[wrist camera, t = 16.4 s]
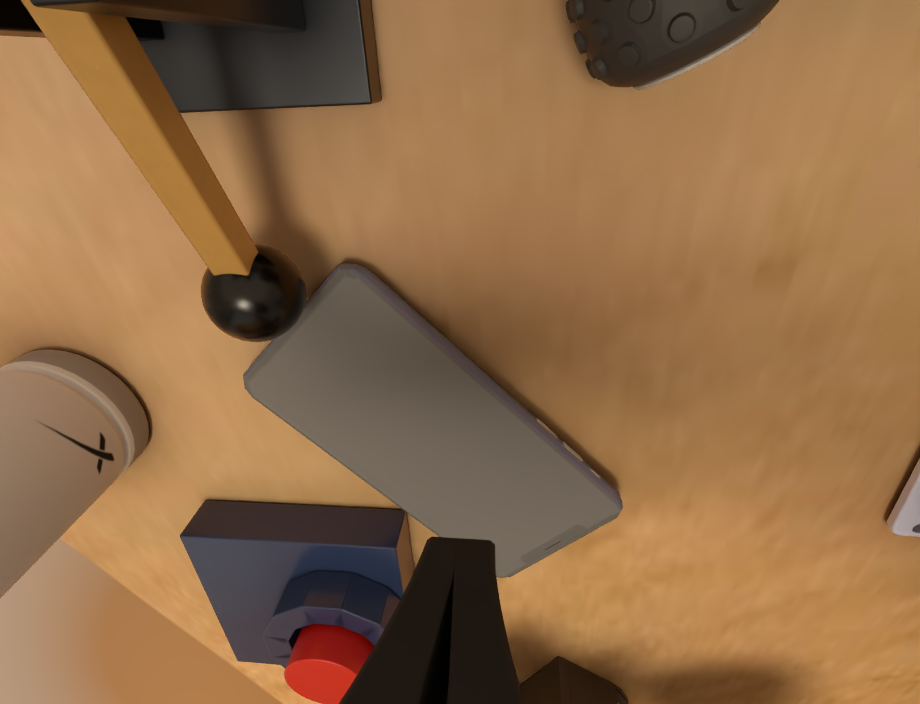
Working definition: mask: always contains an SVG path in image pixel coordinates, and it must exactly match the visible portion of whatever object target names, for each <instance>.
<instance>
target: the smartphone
mask: <svg viewBox="0 0 920 704" xmlns="http://www.w3.org/2000/svg"><path fill="white" fill-rule="evenodd" d="M243 378H244V385H245V389H246V390H247V391H248V392H249V394H250V395H251V396H252V397H253V398H254V399H255V400H257V401H258V402H259V403H261V404H262V405H263V406H265V407H266V408H268V409H269V410H270V411H272V412H273V413H274V414H276V415H277V416H278V417H280V418H281V419H282V420H284V421H285V422H286V423H288V424H289V425H290V426H292V427H293V428H294V429H296V430H297V431H298V432H300V433H301V434H302V435H304V436H305V437H306V438H308V439H309V440H310V441H312V442H313V443H314V444H316V445H317V446H318V447H320V448H321V449H323V450H324V451H325V452H327V453H328V454H329V455H331V456H332V457H333V458H335V459H336V460H337V461H339V462H340V463H341V464H343V465H344V466H345V467H347V468H348V469H349V470H351V471H352V472H353V473H355V474H356V475H357V476H359V477H360V478H361V479H363V480H364V481H365V482H367V483H368V484H369V485H371V486H372V487H373V488H375V489H376V490H378V491H379V492H380V493H382V494H383V495H384V496H386V497H387V498H388V499H390V500H391V501H392V502H394V503H395V504H396V505H398V506H399V507H400V508H402V509H403V510H404V511H406V512H407V513H408V514H410V515H411V516H412V517H414V518H415V519H416V520H418V521H419V522H420V523H422V524H423V525H424V526H426V527H427V528H428V529H430V530H431V531H433V532H434V533H435V534H437V535H438V536H439V537H446V538H464V539H482V540H491V541H492V542H493V543H494V544H495V559H496V577H500V578H503V577H511V576H513V575H515V574H516V573H518V572H520V571H522V570H524V569H525V568H527V567H529V566H531V565H533V564H534V563H536V562H538V561H540V560H542V559H543V558H545V557H547V556H549V555H551V554H552V553H554V552H556V551H558V550H560V549H561V548H563V547H565V546H567V545H569V544H570V543H572V542H574V541H576V540H578V539H579V538H581V537H583V536H585V535H587V534H588V533H590V532H592V531H594V530H596V529H597V528H599V527H601V526H603V525H605V524H606V523H608V522H610V521H612V520H614V519H615V518H617V517H618V515H619V513H620V512H621V510H622V508H623V505H622V500H621V497H620V494H619V492H618V491H617V490H616V489H615V488H614V487H613V486H612V485H611V484H609V483H608V482H607V481H606V480H605V479H604V478H603V477H602V476H600V475H599V474H598V473H597V472H596V471H595V470H594V469H593V468H591V467H590V466H589V465H588V464H587V463H586V462H585V461H584V460H582V458H581V456H580V455H578V454H577V453H576V452H575V451H574V450H573V449H572V448H571V447H569V446H568V445H567V444H566V443H565V442H562V441H561V440H560V439H559V438H558V437H557V435H556V434H555V433H554V432H553V431H551V430H550V429H549V428H548V427H547V426H546V425H545V424H544V423H542V422H541V421H540V420H539V419H536V418H535V417H534V416H533V415H532V414H531V413H530V412H528V411H527V410H526V409H525V408H524V407H523V406H522V405H521V404H519V403H518V402H517V401H516V400H515V399H514V398H513V397H512V396H510V395H509V394H508V393H507V392H506V391H505V390H504V389H503V388H501V387H500V386H499V385H498V384H497V383H496V382H495V381H494V380H492V379H491V378H490V377H489V376H488V375H487V374H486V373H485V372H483V371H482V370H481V369H480V368H479V367H478V366H477V365H476V364H474V363H473V362H472V361H471V360H470V359H469V358H468V357H467V356H465V355H464V354H463V353H462V352H461V351H460V350H459V349H458V348H456V347H455V346H454V345H453V344H452V343H451V342H450V341H449V340H447V339H446V338H445V337H444V336H443V335H442V334H441V333H440V332H439V331H437V330H436V329H435V328H434V327H433V326H432V325H431V324H430V323H428V322H427V321H426V320H425V319H424V318H423V317H422V316H421V315H419V314H418V313H417V312H416V311H415V310H414V309H413V308H412V307H410V306H409V305H408V304H407V303H406V302H405V301H404V300H403V299H401V298H400V297H399V296H398V295H397V294H396V293H395V292H394V291H392V290H391V289H390V288H389V287H388V286H387V285H386V284H385V283H383V282H382V281H381V280H380V279H379V278H378V277H377V276H376V275H374V274H373V273H372V272H371V271H370V270H369V269H366V268H364V267H362V266H360V265H358V264H356V263H341V264H339V265H338V266H337V267H336V269H335V270H334V271H333V272H332V273H331V274H330V275H329V277H328V278H327V279H326V280H325V281H324V282H323V284H322V285H321V286H320V287H319V288H318V289H317V290H316V292H315V293H314V294H313V295H312V296H311V297H310V298H309V300H308V301H307V302H306V303H305V306H304V310H303V312H302V314H301V317H300V318H299V320H298V321H297V323H296V324H295V325H294V326H293V327H292V328H291V329H290V330H289V331H287V332H286V333H285V334H283V335H281V336H279V337H277V338H275V339H274V340H273V341H272V342H271V343H270V344H269V346H268V347H267V348H266V349H265V350H264V351H263V353H262V354H261V355H260V356H259V357H258V358H257V359H256V361H255V362H254V363H253V364H252V365H251V366H250V367H249V369H248V370H247V371H246V372H245V373H244V375H243Z"/></svg>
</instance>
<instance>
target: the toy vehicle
mask: <svg viewBox="0 0 920 704" xmlns="http://www.w3.org/2000/svg"><path fill="white" fill-rule="evenodd" d="M778 1H779V0H569V1H567V2H566V11H567V15H568V19H569V21H570V23H576V25H577V28H578V31H577V32H576V33H575V34H574V40H575V43H576V46H577V48H578V50H579V52H580V54H582V53H587V55H588V57H589V59H588V60H587V61H586V67H587V69H588V71H589V73H590V75H591V76H592V77H593V78H594V79H595V78H597V79H598V80H602V81H603V82H605V83H606V84H608V85H609V86H615V87H632V86H633V87H634V88H635V89H637V90H640V89H645V88H648V87H651V86H654V85H656V84H659V83H661V82H664V81H666V80H669V79H671V78H673V77H675V76H678V75H680V74H682V73H684V72H686V71H688V70H690V69H692V68H694V67H696V66H699V65H701V64H703V63H704V62H706V61H708V60H710V59H712V58H714V57H716V56H718V55H719V54H721V53H723V52H725V51H726V50H728V49H730V48H732V47H733V46H735V45H737V44H738V43H740V42H741V41H743V40H744V39H746V38H747V37H749V36H750V35H751V34H753V33H754V32H755V31H757V29H758V28H759V27H760V23H761V22H760V21H761V20H762V19H763V18H764V17H765V16H766V15H767V14H768V13H769V12H770V11H771V10H772V9H773V7H774V6H775V5H776V4H777V3H778Z"/></svg>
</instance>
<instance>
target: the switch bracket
mask: <svg viewBox="0 0 920 704" xmlns="http://www.w3.org/2000/svg"><path fill="white" fill-rule="evenodd" d="M30 1H31V3H32V4H33V5H34V6H36V7H41V8H50V9H59V10H68V11H77V12H87V13H96V14H105V15H114V16H123V17H126V19H127V21H128V22H129V24H130V26H131V28H132V29H133V31H134V33H135V35H136V36H137V38H138V40H139V42H140V43H141V45H142V47H143V49H144V51H145V52H146V54H147V56H148V58H149V59H150V61H151V63H152V65H153V66H154V68H155V70H156V72H157V73H158V75H159V77H160V79H161V81H162V82H163V84H164V86H165V88H166V89H167V91H168V93H169V95H170V96H171V98H172V100H173V102H174V103H175V105H176V107H177V109H178V111H179V112H180V113H187V112H208V111H230V110H252V109H274V108H296V107H318V106H340V105H362V104H372V103H376V102H379V101H381V90H380V81H379V72H378V63H377V54H376V45H375V36H374V27H373V18H372V9H371V0H30ZM0 35H3V36H24V37H45V38H47V37H46V36H45V35H44V33H43V32H42V30H41V29H40V27H39V26H38V25H37V23H36V22H35V20H34V19H33V17H32V16H31V15H30V13H29V12H28V10H27V9H26V7H25V6H24V5H23V3H22V2H21V0H0Z"/></svg>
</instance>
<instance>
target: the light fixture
mask: <svg viewBox="0 0 920 704" xmlns="http://www.w3.org/2000/svg"><path fill="white" fill-rule="evenodd" d="M520 689H521V692H522V696H523V699H524V703H525V704H628V700H627V697H626V695H625V694H624V693H623V692H622V690H621V689H620V688H618V687H617V686H616V685H614V684H612V683H611V682H609V681H607V680H605V679H603V678H601V677H599V676H597V675H595V674H593V673H591V672H589V671H587V670H585V669H583V668H581V667H579V666H577V665H575V664H573V663H571V662H569V661H567V660H565V659H563V658H561V657H557V658H556V659H555V660H553V661H552V662H551V663H549V664H548V665H547V666H545V667H544V668H543V669H541V670H540V671H539V672H537V673H536V674H535V675H533V676H532V677H531V678H529V679H528V680H527V681H525V682H524V683H523V684H521V685H520Z"/></svg>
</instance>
